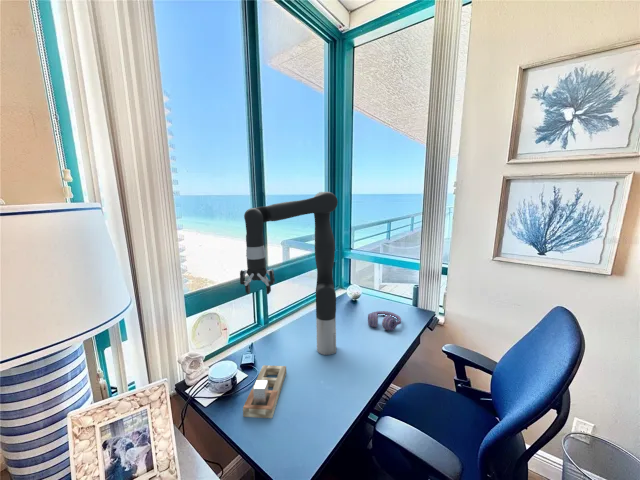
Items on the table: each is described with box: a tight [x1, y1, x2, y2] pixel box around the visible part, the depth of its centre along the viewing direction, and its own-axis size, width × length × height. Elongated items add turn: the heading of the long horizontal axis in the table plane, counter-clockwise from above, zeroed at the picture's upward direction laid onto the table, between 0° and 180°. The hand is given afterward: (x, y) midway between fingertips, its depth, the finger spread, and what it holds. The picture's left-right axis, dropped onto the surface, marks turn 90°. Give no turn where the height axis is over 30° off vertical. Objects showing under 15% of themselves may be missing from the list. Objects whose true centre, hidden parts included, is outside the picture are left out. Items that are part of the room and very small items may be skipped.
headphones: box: [367, 310, 402, 332], centre depth 149 cm, size 18×8×20 cm
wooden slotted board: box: [242, 364, 287, 419], centre depth 98 cm, size 10×23×3 cm, turn 175°
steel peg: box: [252, 380, 269, 406], centre depth 91 cm, size 4×4×9 cm
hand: (258, 293), depth 110 cm, fingers open, 8 cm apart
